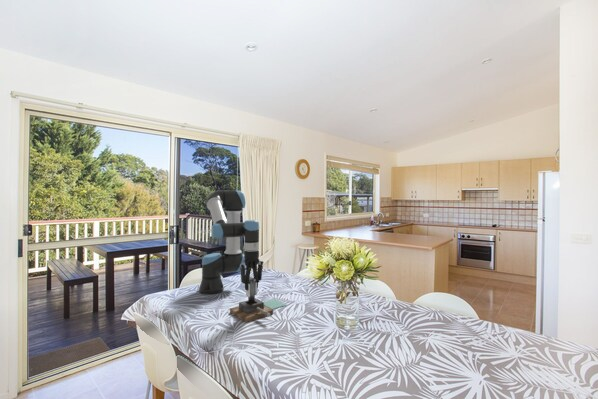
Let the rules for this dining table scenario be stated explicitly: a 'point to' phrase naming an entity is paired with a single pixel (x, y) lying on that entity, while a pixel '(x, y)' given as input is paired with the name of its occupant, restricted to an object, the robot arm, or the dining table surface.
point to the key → (252, 291)
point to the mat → (274, 304)
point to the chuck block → (251, 310)
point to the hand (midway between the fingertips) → (251, 295)
